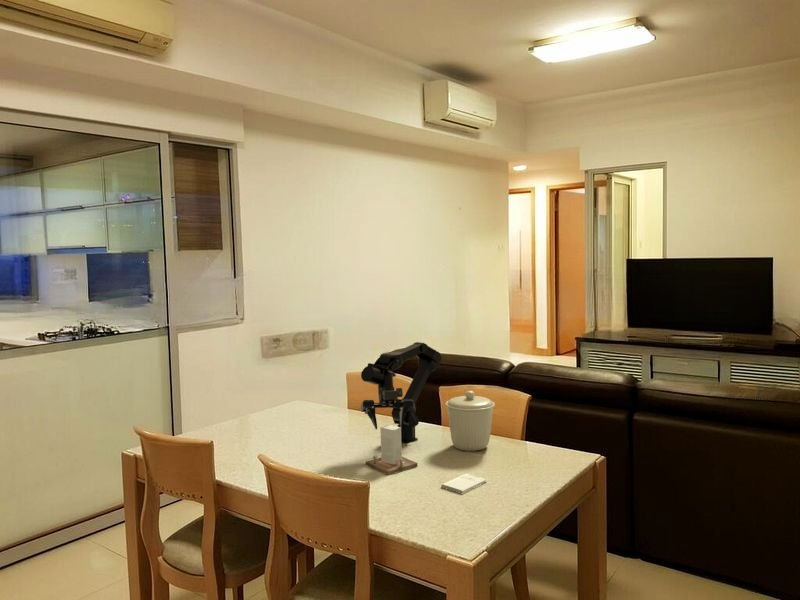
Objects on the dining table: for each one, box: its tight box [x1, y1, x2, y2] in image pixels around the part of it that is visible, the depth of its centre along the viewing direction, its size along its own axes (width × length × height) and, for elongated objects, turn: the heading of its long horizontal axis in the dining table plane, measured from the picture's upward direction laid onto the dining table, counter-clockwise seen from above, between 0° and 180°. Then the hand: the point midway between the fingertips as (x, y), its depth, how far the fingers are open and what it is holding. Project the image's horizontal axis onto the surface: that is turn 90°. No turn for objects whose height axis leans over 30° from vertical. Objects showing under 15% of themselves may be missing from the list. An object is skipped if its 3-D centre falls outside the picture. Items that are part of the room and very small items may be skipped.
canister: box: [445, 390, 496, 452], centre depth 225 cm, size 18×18×21 cm
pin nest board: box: [365, 455, 418, 476], centre depth 207 cm, size 13×13×4 cm
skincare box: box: [380, 424, 403, 465], centre depth 207 cm, size 6×4×12 cm
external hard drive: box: [440, 473, 487, 494], centre depth 189 cm, size 2×8×12 cm
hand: (389, 428), depth 217 cm, fingers open, 9 cm apart
